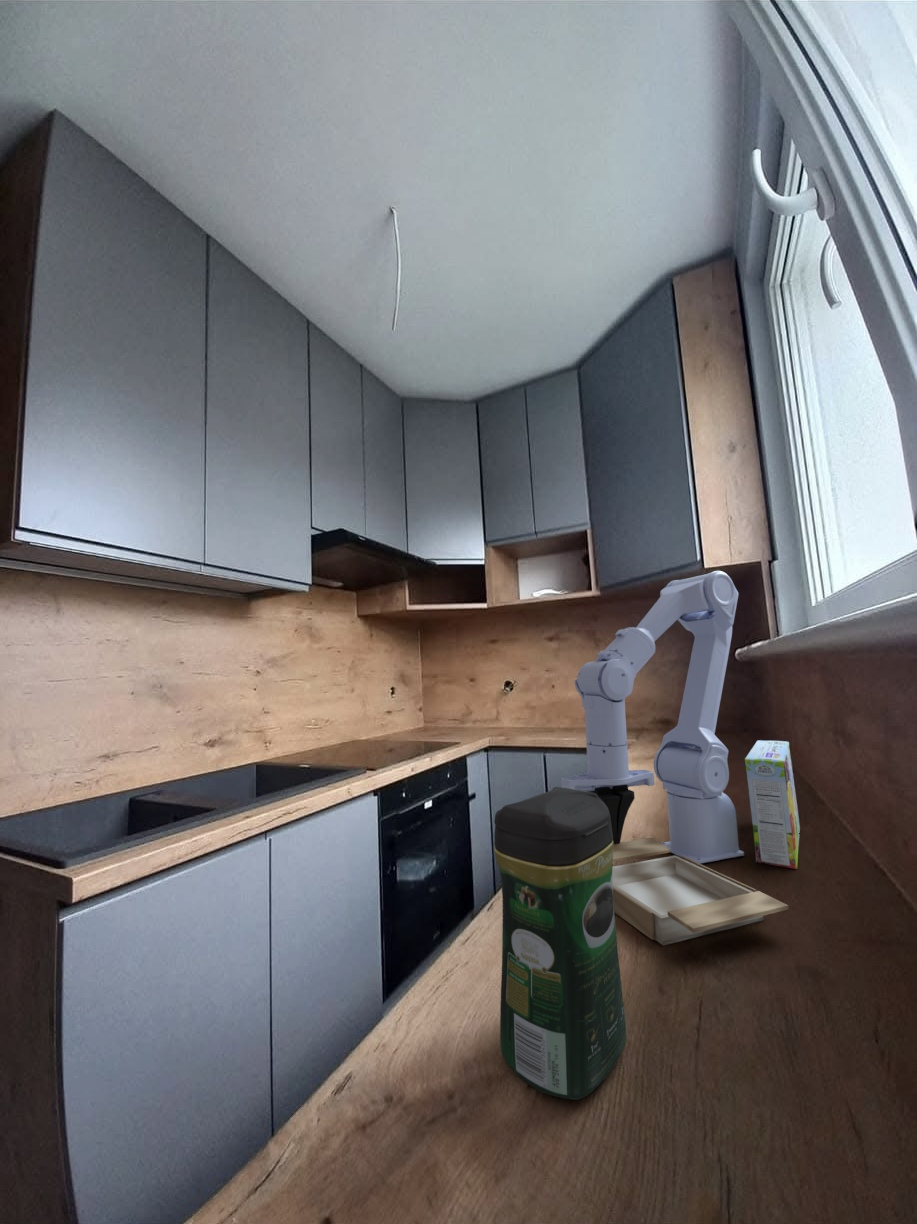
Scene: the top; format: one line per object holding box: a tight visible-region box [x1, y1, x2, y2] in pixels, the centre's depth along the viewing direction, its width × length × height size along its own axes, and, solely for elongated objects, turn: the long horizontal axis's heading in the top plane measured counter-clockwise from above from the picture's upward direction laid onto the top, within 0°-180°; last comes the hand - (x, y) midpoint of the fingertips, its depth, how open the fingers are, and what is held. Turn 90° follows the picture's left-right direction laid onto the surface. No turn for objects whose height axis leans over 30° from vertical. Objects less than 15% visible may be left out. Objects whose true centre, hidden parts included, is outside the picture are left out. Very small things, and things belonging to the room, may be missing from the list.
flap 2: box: [667, 890, 789, 933], centre depth 51 cm, size 13×1×3 cm
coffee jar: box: [493, 786, 627, 1101], centre depth 37 cm, size 10×8×19 cm
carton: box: [612, 855, 764, 946], centre depth 58 cm, size 15×13×3 cm
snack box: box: [744, 739, 801, 870], centre depth 78 cm, size 21×6×15 cm, turn 144°
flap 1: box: [613, 837, 671, 863], centre depth 66 cm, size 13×1×3 cm
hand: (611, 841), depth 69 cm, fingers closed, pressing on flap 1
